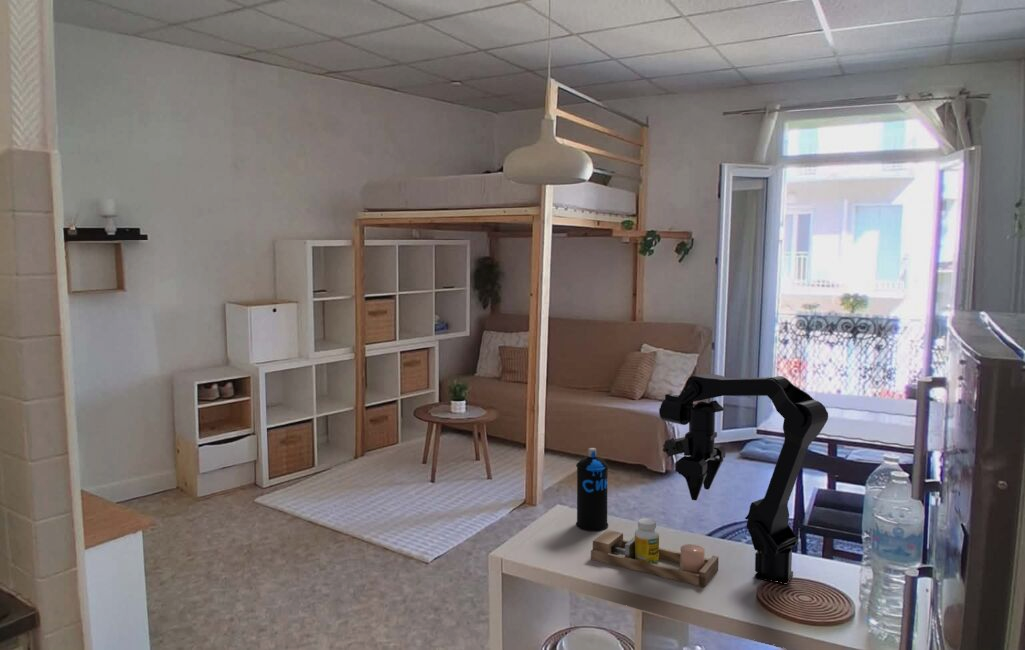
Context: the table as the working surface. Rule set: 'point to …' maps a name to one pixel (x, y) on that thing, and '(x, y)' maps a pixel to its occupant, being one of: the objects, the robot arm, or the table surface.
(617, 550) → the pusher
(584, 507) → the aerosol can
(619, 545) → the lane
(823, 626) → the table surface
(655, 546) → the supplement bottle
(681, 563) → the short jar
